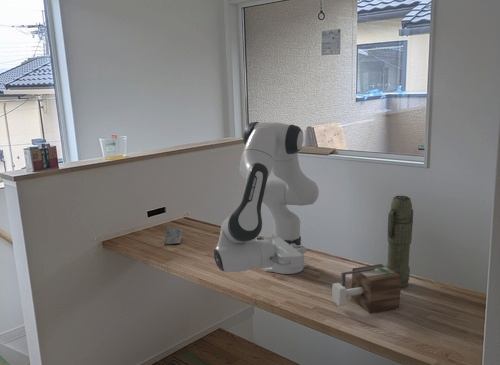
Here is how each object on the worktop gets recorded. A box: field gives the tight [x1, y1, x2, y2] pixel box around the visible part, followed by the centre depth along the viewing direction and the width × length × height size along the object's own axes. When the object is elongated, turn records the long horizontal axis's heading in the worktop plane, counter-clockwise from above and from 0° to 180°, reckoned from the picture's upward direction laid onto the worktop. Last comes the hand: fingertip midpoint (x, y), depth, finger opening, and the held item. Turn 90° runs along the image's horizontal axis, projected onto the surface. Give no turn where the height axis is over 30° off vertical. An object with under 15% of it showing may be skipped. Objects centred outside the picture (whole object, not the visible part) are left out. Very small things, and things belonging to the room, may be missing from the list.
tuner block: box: [350, 263, 402, 315], centre depth 170 cm, size 12×12×12 cm
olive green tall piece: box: [385, 195, 414, 290], centre depth 185 cm, size 9×12×35 cm
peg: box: [331, 268, 375, 307], centre depth 167 cm, size 5×16×10 cm, turn 109°
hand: (304, 248), depth 158 cm, fingers closed
